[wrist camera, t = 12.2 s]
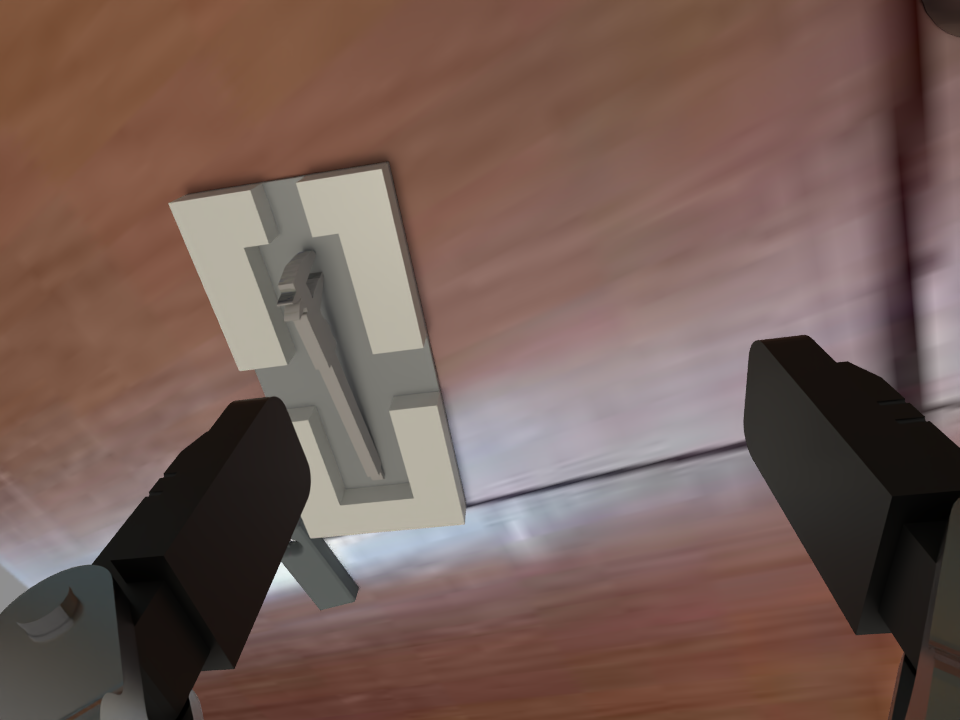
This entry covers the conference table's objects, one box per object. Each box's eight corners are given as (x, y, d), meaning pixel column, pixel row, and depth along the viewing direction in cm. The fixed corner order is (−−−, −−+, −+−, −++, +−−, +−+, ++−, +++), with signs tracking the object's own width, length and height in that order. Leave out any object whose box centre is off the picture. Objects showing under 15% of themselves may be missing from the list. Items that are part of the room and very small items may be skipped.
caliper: (300, 249, 39) (266, 283, 33) (315, 246, 39) (284, 280, 33) (374, 477, 49) (357, 532, 43) (386, 475, 49) (371, 531, 43)
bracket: (325, 594, 58) (319, 612, 56) (267, 520, 53) (259, 537, 52) (361, 585, 57) (356, 603, 56) (305, 509, 53) (298, 526, 51)
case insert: (388, 161, 36) (381, 168, 34) (466, 503, 51) (464, 524, 49) (187, 194, 38) (168, 203, 36) (318, 517, 52) (310, 538, 50)
